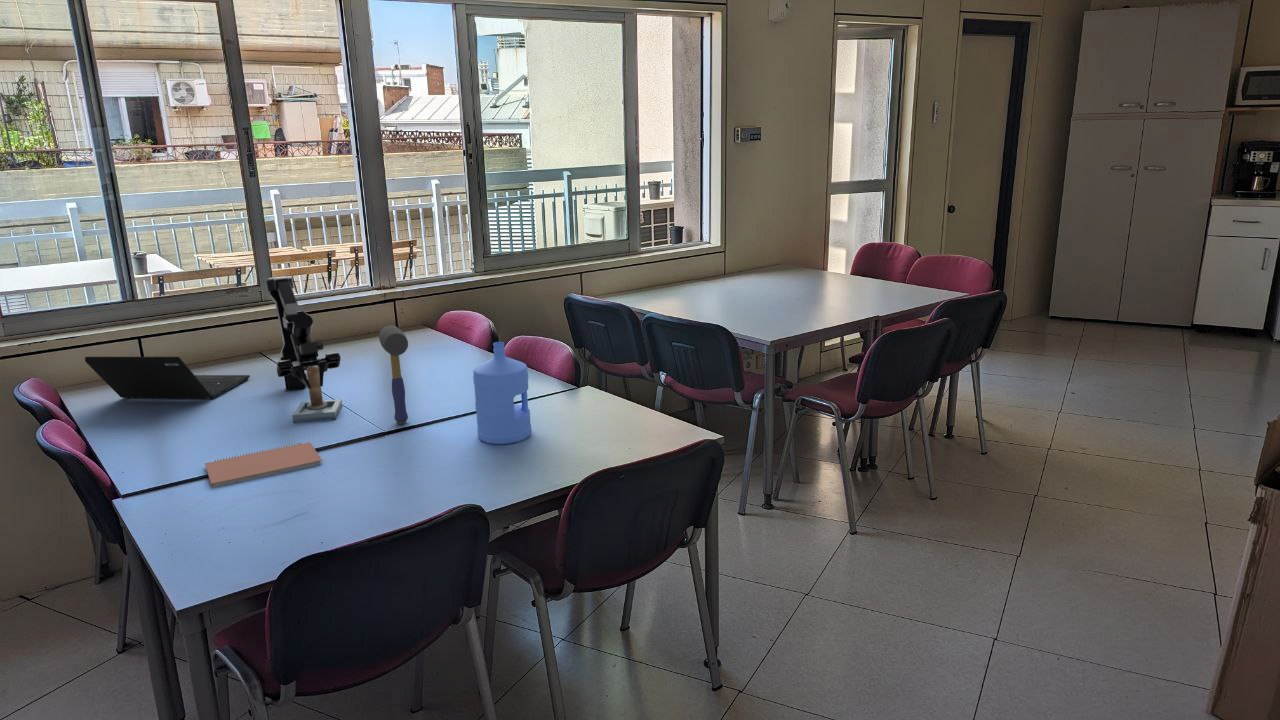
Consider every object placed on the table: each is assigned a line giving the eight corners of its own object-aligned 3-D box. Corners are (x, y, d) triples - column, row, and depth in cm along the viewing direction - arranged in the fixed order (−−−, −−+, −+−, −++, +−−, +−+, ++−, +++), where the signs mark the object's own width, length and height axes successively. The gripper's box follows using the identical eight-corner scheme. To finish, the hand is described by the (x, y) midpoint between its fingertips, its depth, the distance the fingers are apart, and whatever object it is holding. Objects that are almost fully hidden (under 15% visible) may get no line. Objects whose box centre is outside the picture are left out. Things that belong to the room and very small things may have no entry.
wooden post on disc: (303, 409, 264) (298, 370, 261) (314, 403, 270) (309, 364, 266) (320, 410, 263) (315, 371, 259) (331, 404, 269) (326, 365, 265)
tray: (293, 422, 260) (292, 415, 259) (301, 409, 272) (300, 402, 271) (335, 419, 262) (334, 411, 262) (342, 406, 274) (341, 399, 273)
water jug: (480, 448, 237) (473, 352, 229) (475, 429, 252) (468, 339, 244) (535, 441, 241) (530, 347, 233) (527, 423, 256) (522, 334, 248)
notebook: (310, 446, 242) (309, 440, 242) (322, 465, 228) (321, 458, 228) (205, 467, 228) (204, 461, 228) (212, 489, 215) (211, 482, 214)
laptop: (251, 379, 306) (244, 328, 300) (189, 415, 270) (178, 357, 265) (166, 378, 309) (156, 327, 304) (92, 413, 273) (80, 356, 268)
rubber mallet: (386, 418, 262) (375, 325, 254) (410, 414, 265) (401, 322, 257) (392, 431, 251) (382, 334, 243) (418, 427, 254) (408, 331, 246)
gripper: (273, 336, 258) (285, 379, 252) (335, 327, 268) (348, 368, 262) (272, 355, 267) (283, 397, 261) (332, 346, 276) (345, 386, 271)
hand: (315, 387), depth 263 cm, fingers closed on wooden post on disc, 3 cm apart
